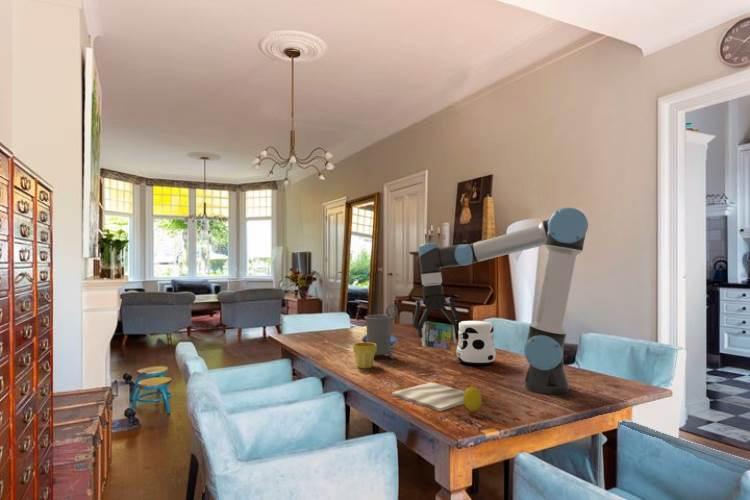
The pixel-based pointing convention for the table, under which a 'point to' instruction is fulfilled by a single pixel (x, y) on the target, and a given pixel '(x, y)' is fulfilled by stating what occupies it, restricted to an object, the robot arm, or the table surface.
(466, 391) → the lemon
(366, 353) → the plant pot
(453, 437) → the table surface
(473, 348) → the milk container
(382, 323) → the mug
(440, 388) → the ash board
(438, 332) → the chalk box
